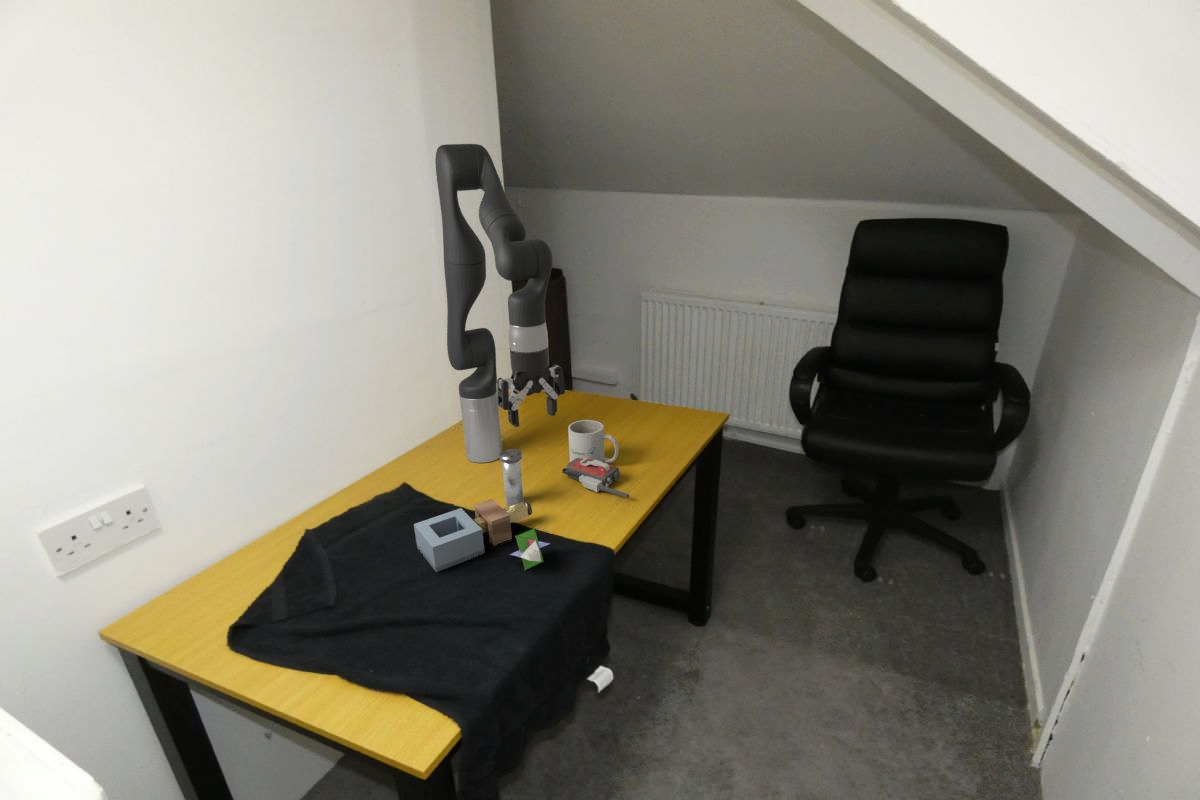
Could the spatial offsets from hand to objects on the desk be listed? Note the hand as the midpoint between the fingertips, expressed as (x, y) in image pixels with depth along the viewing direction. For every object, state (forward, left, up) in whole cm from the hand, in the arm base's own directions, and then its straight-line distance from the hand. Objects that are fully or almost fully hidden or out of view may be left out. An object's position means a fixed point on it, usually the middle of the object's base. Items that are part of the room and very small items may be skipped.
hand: (533, 420), depth 134 cm
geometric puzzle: (+15, -11, -22) cm, 29 cm away
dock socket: (+2, -21, -22) cm, 30 cm away
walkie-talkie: (-2, +18, -22) cm, 28 cm away
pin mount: (+2, -12, -22) cm, 25 cm away
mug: (-11, +22, -22) cm, 33 cm away
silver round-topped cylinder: (-7, -2, -22) cm, 23 cm away
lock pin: (+2, -10, -20) cm, 22 cm away
